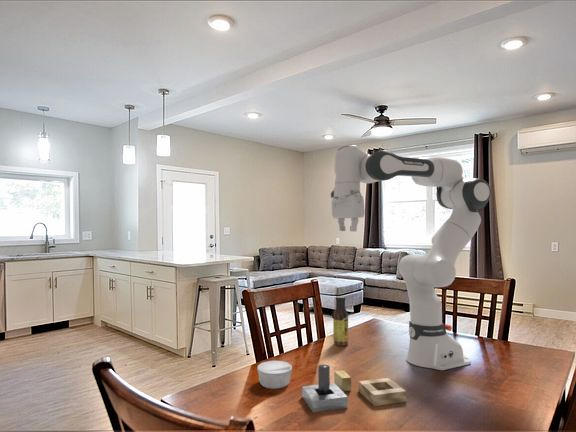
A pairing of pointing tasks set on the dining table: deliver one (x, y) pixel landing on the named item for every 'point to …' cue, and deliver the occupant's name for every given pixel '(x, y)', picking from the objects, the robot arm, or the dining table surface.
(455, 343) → the robot arm
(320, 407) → the socket plate
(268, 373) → the ramekin
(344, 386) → the bar
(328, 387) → the dark grey rounded rod
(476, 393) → the dining table surface
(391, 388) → the block
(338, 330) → the sauce bottle
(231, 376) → the dining table surface
